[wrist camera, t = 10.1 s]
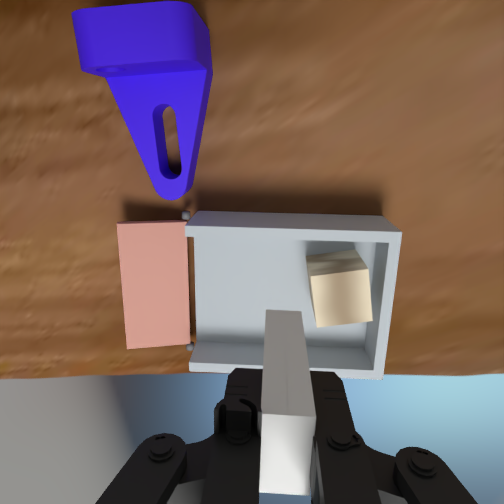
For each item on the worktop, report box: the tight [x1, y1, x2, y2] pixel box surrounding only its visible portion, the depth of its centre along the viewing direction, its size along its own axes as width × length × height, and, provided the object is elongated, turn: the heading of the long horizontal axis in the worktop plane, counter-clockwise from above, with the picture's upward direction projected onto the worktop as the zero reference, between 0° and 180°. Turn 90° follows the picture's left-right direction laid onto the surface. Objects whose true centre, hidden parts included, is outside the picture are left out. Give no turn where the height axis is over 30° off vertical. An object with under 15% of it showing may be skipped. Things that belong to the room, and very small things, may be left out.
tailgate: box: [117, 220, 190, 349], centre depth 51 cm, size 8×16×2 cm, turn 179°
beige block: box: [305, 249, 373, 328], centre depth 47 cm, size 6×6×7 cm
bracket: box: [72, 1, 213, 200], centre depth 43 cm, size 18×11×12 cm, turn 4°
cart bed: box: [182, 211, 402, 380], centre depth 50 cm, size 24×19×8 cm
